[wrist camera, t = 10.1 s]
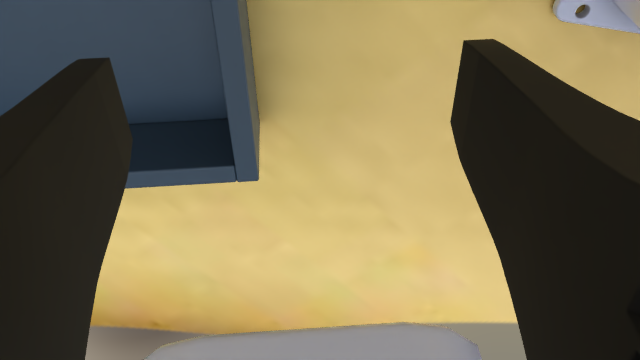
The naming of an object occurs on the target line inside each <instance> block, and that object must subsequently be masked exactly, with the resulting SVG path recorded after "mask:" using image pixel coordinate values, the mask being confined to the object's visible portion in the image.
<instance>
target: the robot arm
mask: <svg viewBox="0 0 640 360" xmlns="http://www.w3.org/2000/svg"><path fill="white" fill-rule="evenodd" d="M581 5H585V8H584V9H583V11H581V12H580V13H575V12H576V10H577V8H578V7H579V6H581ZM553 13H554V14H555V16H556V17H557V18H558V19H559V20H561V21H563V22H569V23H575V24H582V25H588V26H594V27H600V28H607V29H613V30H619V31H625V32H632V33H638V34H640V0H555V2H554V5H553ZM451 126H452V131H453V135H454V139H455V144H456V147H457V151H458V155H459V159H460V162H461V164H462V167H463V169H464V172H465V174H466V176H467V179H468V181H469V184H470V186H471V188H472V191H473V193H474V195H475V198H476V200H477V202H478V205H479V207H480V210H481V212H482V214H483V217H484V219H485V221H486V224H487V226H488V228H489V231H490V233H491V235H492V238H493V240H494V243H495V246H496V248H497V251H498V254H499V257H500V260H501V263H502V267H503V270H504V274H505V277H506V281H507V284H508V287H509V291H510V294H511V298H512V302H513V306H514V310H515V313H516V317H517V321H518V325H519V329H520V333H521V336H522V340H523V345H524V349H525V353H526V358H527V360H640V121H639V120H636V119H634V118H632V117H630V116H627V115H625V114H623V113H620V112H618V111H616V110H614V109H612V108H610V107H608V106H606V105H604V104H602V103H600V102H599V101H597V100H595V99H593V98H591V97H589V96H588V95H586V94H584V93H582V92H580V91H578V90H577V89H575V88H573V87H571V86H570V85H568V84H566V83H565V82H563V81H561V80H560V79H558V78H556V77H555V76H553V75H552V74H550V73H548V72H547V71H545V70H544V69H542V68H540V67H539V66H537V65H536V64H534V63H533V62H531V61H529V60H528V59H526V58H525V57H523V56H522V55H520V54H518V53H517V52H515V51H514V50H512V49H510V48H509V47H507V46H505V45H504V44H502V43H500V42H498V41H496V40H494V39H485V40H464V42H463V48H462V54H461V60H460V66H459V72H458V79H457V85H456V91H455V97H454V103H453V110H452V116H451ZM132 142H133V138H132V134H131V131H130V127H129V124H128V120H127V117H126V113H125V110H124V106H123V103H122V99H121V96H120V92H119V89H118V85H117V82H116V78H115V75H114V71H113V68H112V64H111V61H110V57H108V58H87V59H78V60H76V61H74V62H73V63H71V64H70V65H68V66H67V67H65V68H64V69H63V70H61V71H60V72H59V73H57V74H56V75H55V76H53V77H52V78H51V79H49V80H48V81H47V82H45V83H44V84H43V85H42V86H40V87H39V88H38V89H36V90H35V91H34V92H32V93H31V94H30V95H28V96H27V97H26V98H25V99H23V100H22V101H21V102H19V103H18V104H17V105H15V106H14V107H13V108H11V109H10V110H8V111H7V112H5V113H4V114H3V115H1V116H0V360H85V355H86V348H87V342H88V335H89V328H90V322H91V316H92V310H93V304H94V299H95V293H96V287H97V282H98V278H99V274H100V270H101V266H102V262H103V259H104V256H105V252H106V249H107V246H108V243H109V239H110V236H111V233H112V229H113V226H114V223H115V220H116V216H117V213H118V210H119V206H120V203H121V200H122V196H123V193H124V189H125V186H126V182H127V179H128V172H129V166H130V159H131V150H132ZM143 360H482V358H481V355H480V352H479V349H478V345H477V344H475V343H473V342H472V341H470V340H468V339H467V338H465V337H463V336H462V335H460V334H458V333H457V332H455V331H453V330H452V329H450V328H447V327H444V326H440V325H430V324H419V323H409V322H397V323H382V324H367V325H352V326H337V327H322V328H307V329H292V330H278V331H263V332H248V333H233V334H218V335H204V336H200V337H195V338H192V339H187V340H182V341H178V342H174V343H169V344H165V345H163V346H161V347H159V348H158V349H156V350H155V351H153V352H152V353H151V354H150V355H148V356H147V357H146V358H144V359H143Z"/></svg>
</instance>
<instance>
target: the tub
mask: <svg viewBox="0 0 640 360" xmlns="http://www.w3.org/2000/svg"><path fill="white" fill-rule="evenodd" d="M108 57H110V61H111V64H112V68H113V71H114V75H115V78H116V82H117V85H118V89H119V92H120V96H121V99H122V103H123V106H124V110H125V113H126V117H127V120H128V124H129V127H130V131H131V134H132V138H133V142H132V150H131V159H130V166H129V172H128V179H127V182H126V186H125V188H142V187H158V186H175V185H192V184H209V183H225V182H236V181H238V182H245V181H258V180H259V133H260V132H259V131H260V122H259V113H258V104H257V94H256V85H255V76H254V66H253V57H252V48H251V39H250V29H249V20H248V11H247V1H246V0H0V116H1V115H3V114H4V113H5V112H7V111H8V110H10V109H11V108H13V107H14V106H15V105H17V104H18V103H19V102H21V101H22V100H23V99H25V98H26V97H27V96H28V95H30V94H31V93H32V92H34V91H35V90H36V89H38V88H39V87H40V86H42V85H43V84H44V83H45V82H47V81H48V80H49V79H51V78H52V77H53V76H55V75H56V74H57V73H59V72H60V71H61V70H63V69H64V68H65V67H67V66H68V65H70V64H71V63H73V62H74V61H76V60H78V59H87V58H108Z"/></svg>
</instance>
